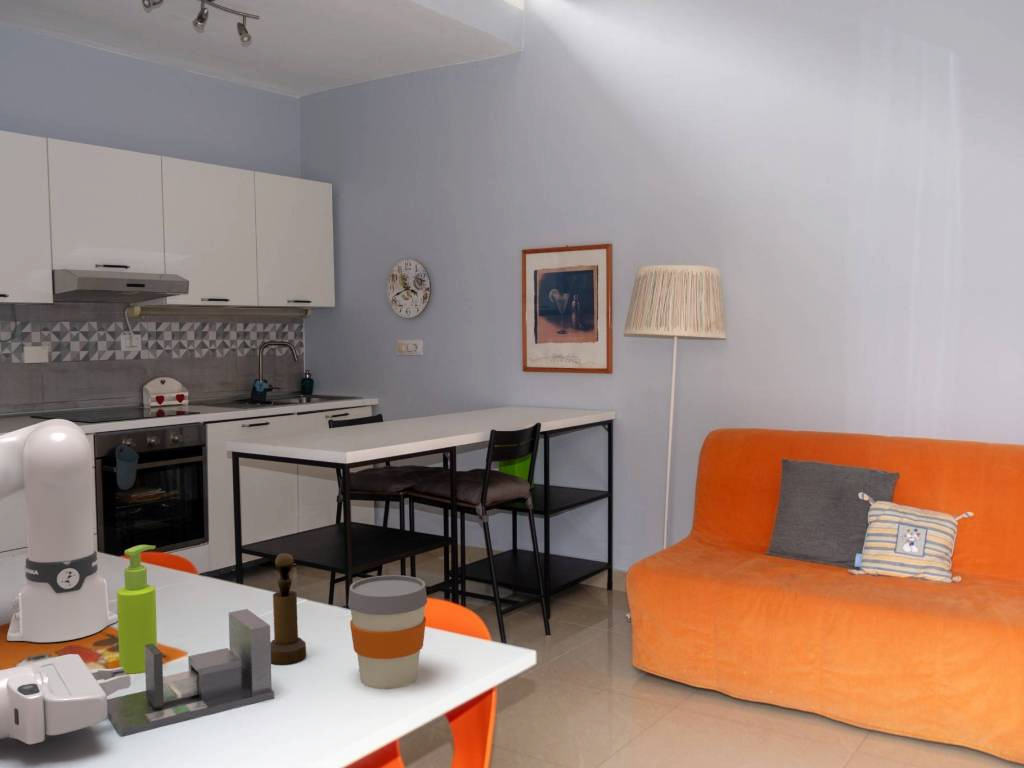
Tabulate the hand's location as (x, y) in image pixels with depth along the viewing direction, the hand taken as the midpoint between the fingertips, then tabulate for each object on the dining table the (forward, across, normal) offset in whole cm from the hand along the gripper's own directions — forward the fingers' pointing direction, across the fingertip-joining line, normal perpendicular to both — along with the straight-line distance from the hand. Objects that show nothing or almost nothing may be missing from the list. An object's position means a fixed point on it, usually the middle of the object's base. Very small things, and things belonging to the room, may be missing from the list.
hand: (127, 676), depth 133 cm
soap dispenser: (+7, -20, -6) cm, 22 cm away
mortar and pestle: (+28, -9, -6) cm, 30 cm away
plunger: (+9, +2, -5) cm, 10 cm away
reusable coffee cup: (+38, +9, -6) cm, 39 cm away
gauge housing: (+9, 0, -6) cm, 10 cm away
